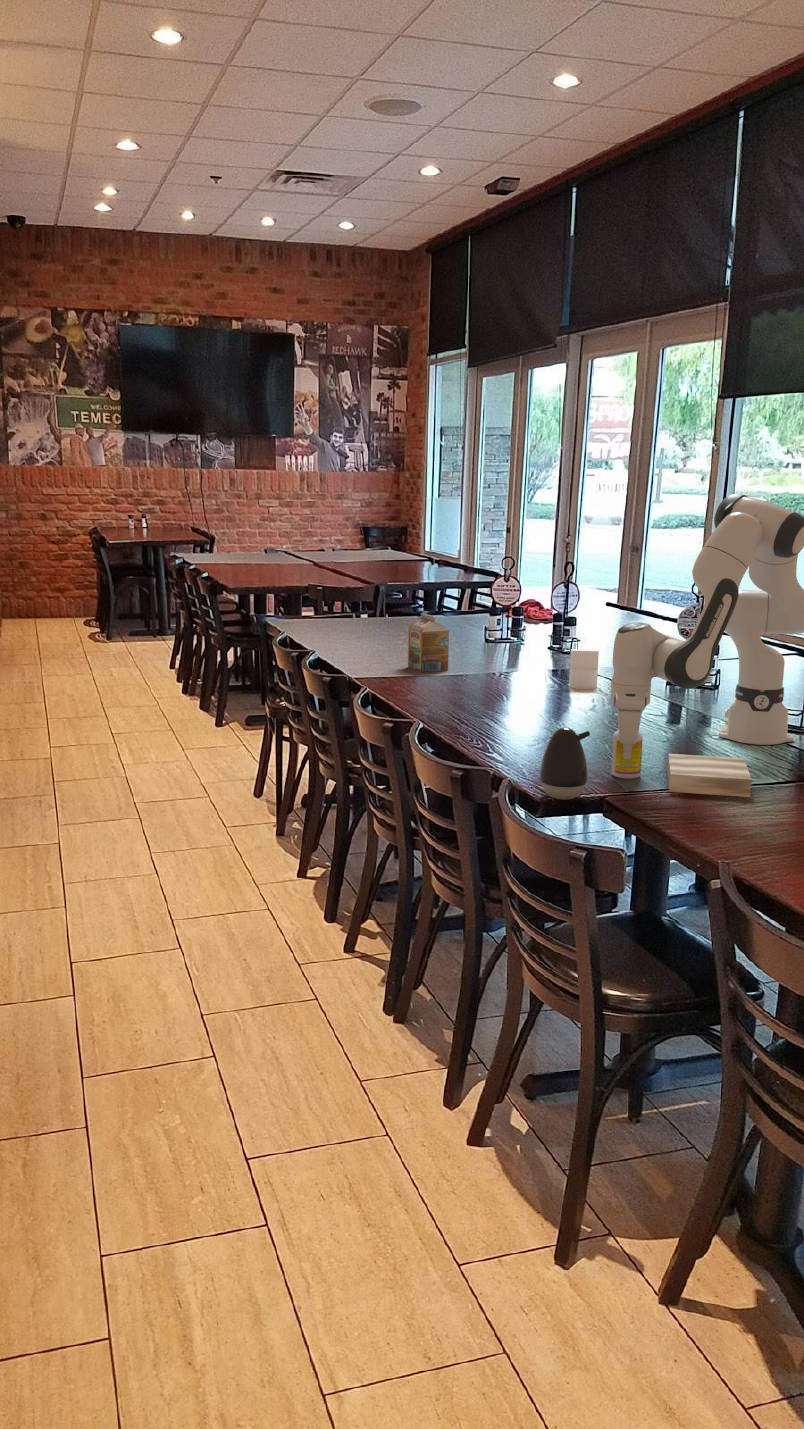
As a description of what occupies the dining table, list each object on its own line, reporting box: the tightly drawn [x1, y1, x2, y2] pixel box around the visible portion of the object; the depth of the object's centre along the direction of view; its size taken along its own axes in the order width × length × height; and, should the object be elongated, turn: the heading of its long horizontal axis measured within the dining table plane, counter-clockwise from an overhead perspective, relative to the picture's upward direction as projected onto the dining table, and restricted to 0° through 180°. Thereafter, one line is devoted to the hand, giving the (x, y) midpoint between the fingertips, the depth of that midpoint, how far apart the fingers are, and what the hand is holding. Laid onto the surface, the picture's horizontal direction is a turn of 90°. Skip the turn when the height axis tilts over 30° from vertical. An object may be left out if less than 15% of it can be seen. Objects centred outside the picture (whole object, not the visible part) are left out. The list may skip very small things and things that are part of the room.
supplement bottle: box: [611, 725, 644, 780], centre depth 249 cm, size 7×7×13 cm
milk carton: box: [407, 613, 450, 673], centre depth 381 cm, size 11×11×19 cm
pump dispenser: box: [539, 727, 591, 801], centre depth 233 cm, size 10×10×15 cm
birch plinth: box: [666, 753, 753, 798], centre depth 245 cm, size 18×17×4 cm
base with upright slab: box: [568, 648, 600, 690], centre depth 353 cm, size 9×9×12 cm
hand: (627, 753), depth 250 cm, fingers closed on supplement bottle, 7 cm apart
